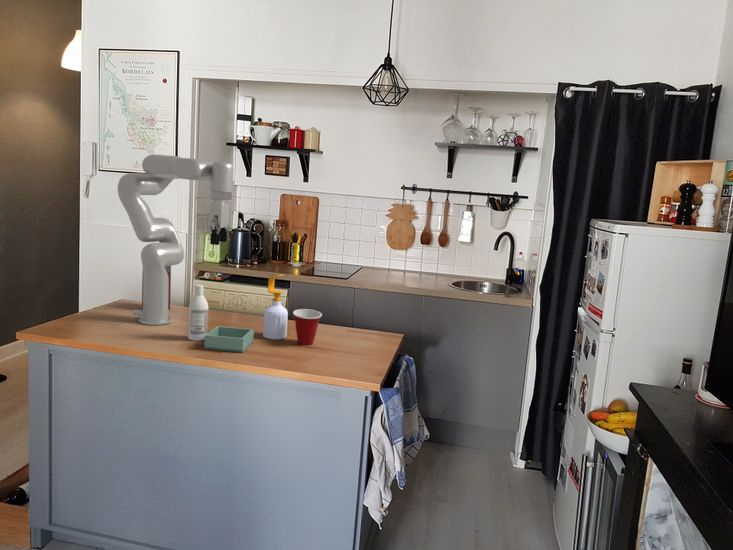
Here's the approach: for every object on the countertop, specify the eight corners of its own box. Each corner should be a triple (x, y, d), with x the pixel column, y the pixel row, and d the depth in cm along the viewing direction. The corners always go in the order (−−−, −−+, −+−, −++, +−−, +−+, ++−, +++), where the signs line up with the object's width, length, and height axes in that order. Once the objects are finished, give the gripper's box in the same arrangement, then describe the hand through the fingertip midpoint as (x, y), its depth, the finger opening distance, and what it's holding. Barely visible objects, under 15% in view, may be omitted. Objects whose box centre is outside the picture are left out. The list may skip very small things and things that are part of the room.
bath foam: (210, 340, 213) (212, 286, 210) (192, 342, 209) (194, 287, 206) (202, 335, 219) (204, 283, 215) (184, 337, 214) (186, 284, 211)
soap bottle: (279, 341, 218) (282, 277, 214) (258, 337, 221) (261, 274, 217) (290, 336, 227) (294, 274, 223) (270, 332, 230) (273, 271, 226)
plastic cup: (297, 348, 211) (299, 316, 209) (287, 340, 220) (288, 309, 219) (324, 346, 216) (326, 315, 214) (313, 338, 225) (315, 308, 224)
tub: (204, 349, 202) (204, 335, 201) (217, 339, 215) (217, 326, 214) (242, 352, 201) (243, 338, 200) (253, 342, 214) (253, 329, 213)
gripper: (217, 194, 220) (215, 239, 223) (203, 196, 203) (201, 244, 206) (237, 196, 220) (234, 241, 222) (224, 198, 203) (222, 246, 205)
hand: (218, 243), depth 214 cm, fingers open, 9 cm apart
